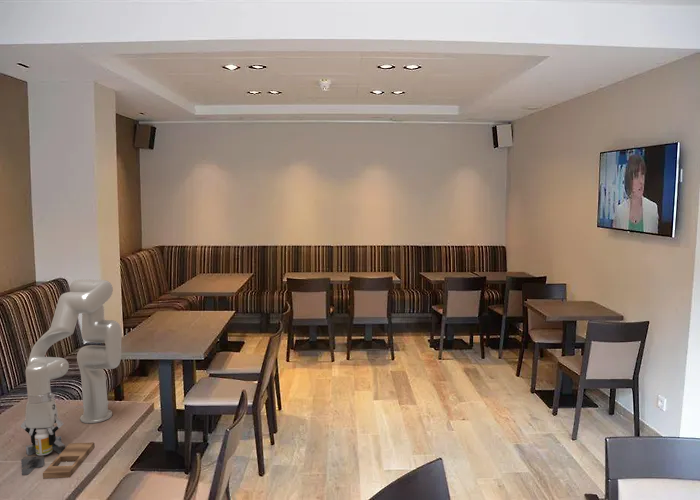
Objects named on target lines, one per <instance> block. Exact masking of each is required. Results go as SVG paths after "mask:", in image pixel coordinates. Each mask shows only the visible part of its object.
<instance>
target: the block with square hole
mask: <svg viewBox="0 0 700 500" xmlns="http://www.w3.org/2000/svg"><path fill="white" fill-rule="evenodd" d="M94 448H95V442H94V441H93V442H72V443H71V442H70V443H68V444H67V446H65V449H64V450H63V451H62V452H61V454H59V455H58V456H56V458H55V459H53V461H52V462H51V463H50V465H49V466H48V467H47V468H46V469H44V471H43V472H42V478H43V479H63V478H65V479H66V478H72V476H73V474H74V473H76V471H77V470H78V468H79V467H80V466H81V465H82V463H83V462H84V461H85V460H86V459H87V457H88V456H89V455H90V453H91V452H92V451H93V450H94ZM66 461H67V462H69V463H70V462H74V463H73V464H72V465H60V463H62V462H63V463H66Z"/></svg>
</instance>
